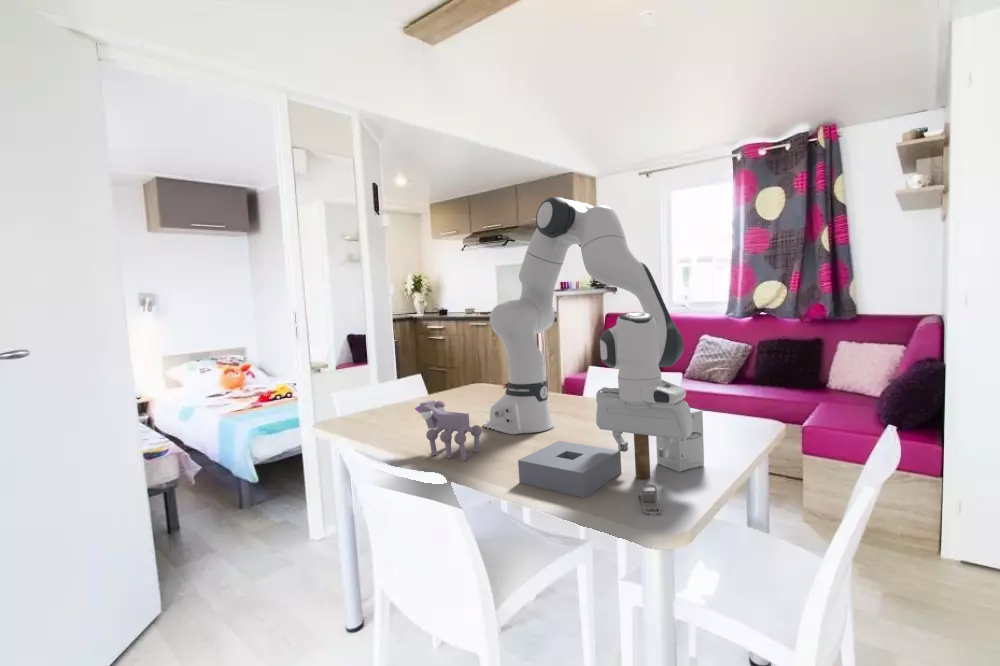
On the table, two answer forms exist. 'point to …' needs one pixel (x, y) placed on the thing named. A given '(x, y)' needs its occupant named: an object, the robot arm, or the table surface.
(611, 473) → the hole block
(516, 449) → the table surface
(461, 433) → the toy sheep
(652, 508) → the strap clip
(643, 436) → the walnut peg
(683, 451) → the supplement box
